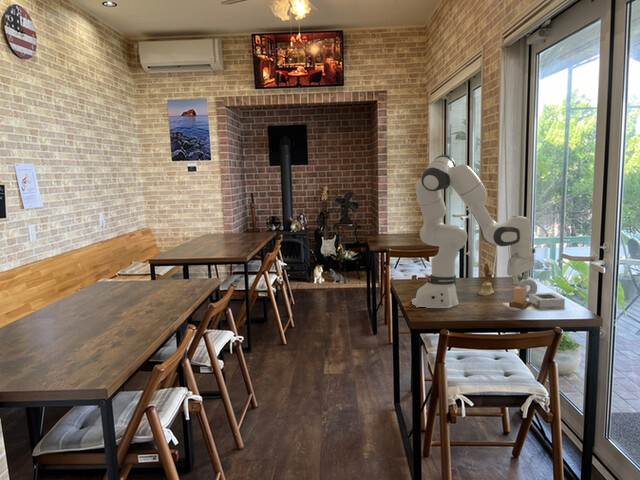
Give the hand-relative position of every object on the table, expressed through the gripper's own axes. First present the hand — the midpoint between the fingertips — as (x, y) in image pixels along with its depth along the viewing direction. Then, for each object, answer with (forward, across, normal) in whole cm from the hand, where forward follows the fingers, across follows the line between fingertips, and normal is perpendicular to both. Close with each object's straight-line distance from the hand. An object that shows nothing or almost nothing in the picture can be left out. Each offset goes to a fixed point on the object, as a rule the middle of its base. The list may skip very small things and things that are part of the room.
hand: (520, 281), depth 210 cm
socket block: (+12, +8, -8) cm, 16 cm away
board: (+13, +4, -4) cm, 14 cm away
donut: (+14, +20, +6) cm, 25 cm away
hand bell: (+14, +16, +25) cm, 33 cm away
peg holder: (+12, 0, 0) cm, 12 cm away
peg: (+12, 0, 0) cm, 12 cm away
